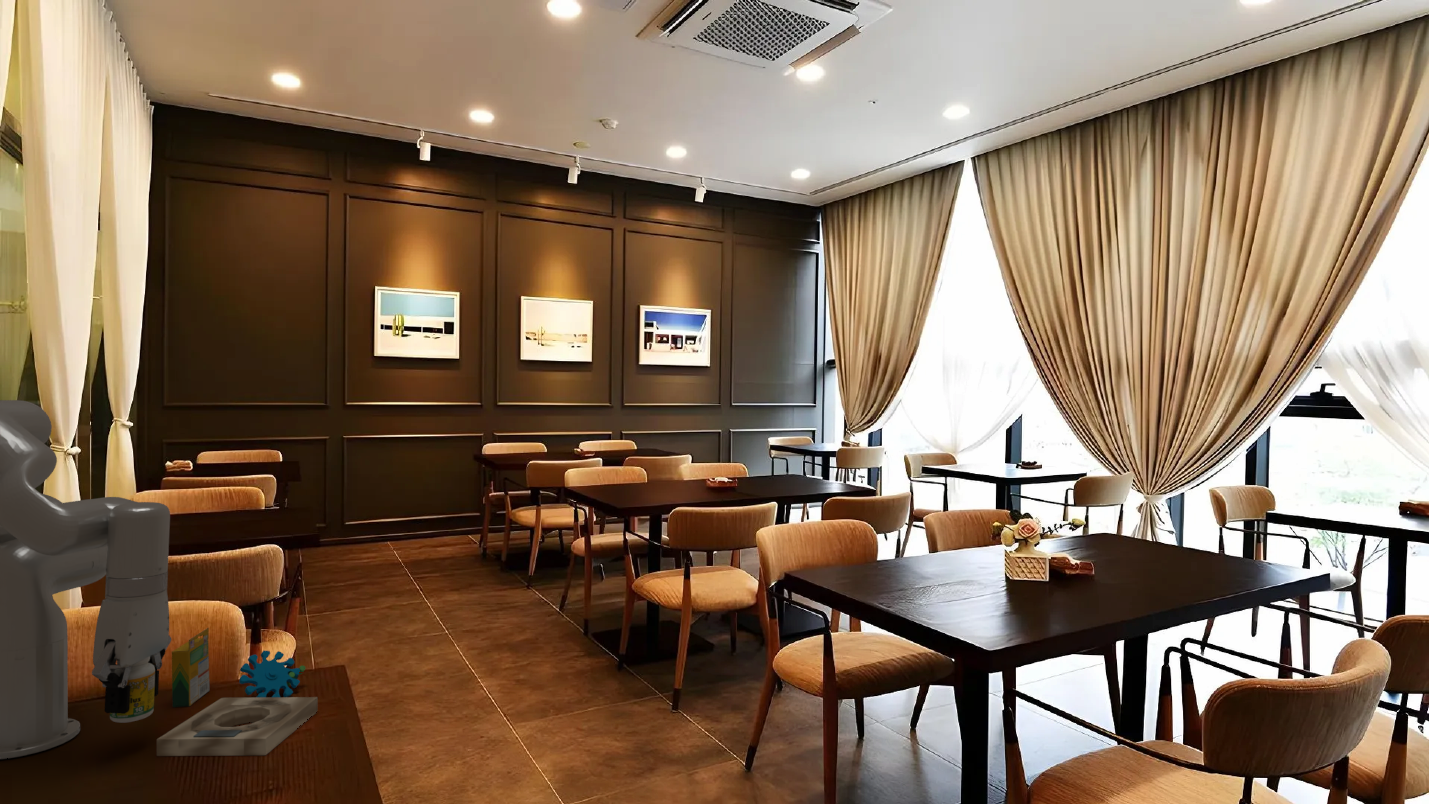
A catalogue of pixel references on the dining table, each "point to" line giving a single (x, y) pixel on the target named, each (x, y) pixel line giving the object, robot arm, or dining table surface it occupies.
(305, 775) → the dining table surface
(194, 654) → the crayon box
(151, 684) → the supplement bottle
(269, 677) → the blue virus toy
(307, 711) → the socket board
